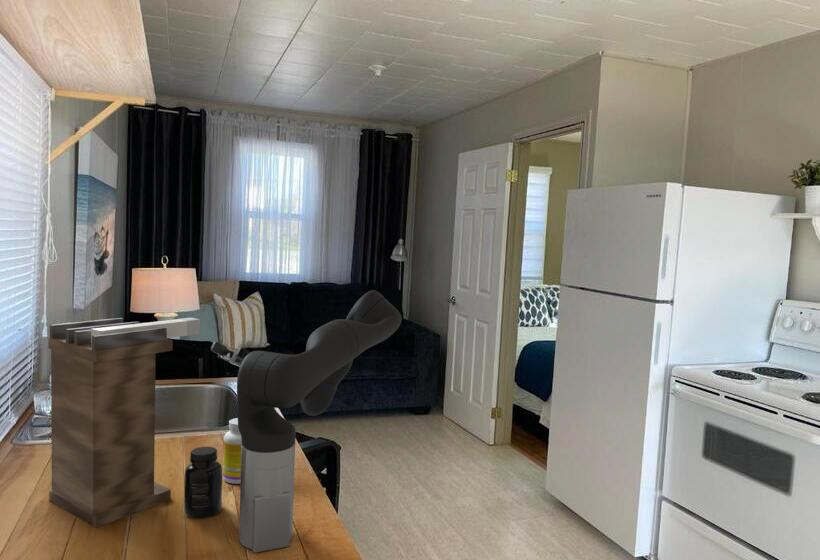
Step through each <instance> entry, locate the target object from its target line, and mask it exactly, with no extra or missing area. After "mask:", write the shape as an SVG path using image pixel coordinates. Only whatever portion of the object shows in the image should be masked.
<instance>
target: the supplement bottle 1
mask: <svg viewBox="0 0 820 560" xmlns="http://www.w3.org/2000/svg"><path fill="white" fill-rule="evenodd" d="M189 462H190V463H189V464H188V465H187V466H186V468H185V469H184V494H183V495H184V499H183V501H184V506H183V510H184V514H185V515H186V516H187V517H188V518H191V519H197V520H199V519H201V520H202V519H208V518H212V517H214V516H216V515H218V514H219V513H220V512H221V510H222V505H223V504H222V503H223V502H222V501H223V497H222V496H223V465H222V464H221V463H220V462H219V461H218V450H217V448H216V447H213V446H199V447H195V448H193V449H191V450H190V458H189Z"/></svg>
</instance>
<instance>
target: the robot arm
mask: <svg viewBox="0 0 820 560" xmlns="http://www.w3.org/2000/svg"><path fill="white" fill-rule="evenodd" d="M402 320H403V319H402V314H401V312H400V311H399V310H398V309H397V308H396V307H395V306H394V305H393V304H392V303H391V302H389V300H388V299H387V298H385V296H384V295H382V294H381V293H380V292H379V291H377V290H375V289H373V290H369V291H367V292H366V293H364V294H363V295H362V296H361V297H359V299H358V300H357V301H356V302H355V303H354V305H353V307H352V308H351V309H350V310H349V313H348V315H347V316H346V318H345V319H344V318H339V319H333V320H331V321H329V322H327V323H325V324H323V325H321V326H320V327H318V328H316V329H315V330H314V331H312V333H311V334H310V335H309V337H308V339H307V341H306V346H305V347H306V348H305V351H303V352H302V353H297V354H286V353H279V352H278V353H277V352H271V351H264V350H254V351H249V350H247V349H246V348H244V347H241V346H240V347H239V346H238V347H237V348H236V349H233V348H231V347H229V346H225V345H224V344H222V343H220V342H218V341H213V343H212V345H211V347H210V351H211V352H212V353H215V354H217V358H218V359H222V360H224V361H226V362H228V363H230V364H232V365H234V366H237V367H239V369H238V372H237V380H236V401H237V403H236V404H237V406H236V407H237V418H238V428H239V432H240V434H241V440H242V441H241V480H240V484H239V485H240V488H239V489H240V491H239V528H238V530H239V534H238V535H239V537H238V538H239V539H238V540H239V542H240V545H241V546H242V547H245V548H248V549H249V550H252V551H253V553H259V552H260V553H261V552H266V551H271V550H277V549H281V548H286V547H290V543H291V540H292V539H293V531H294V530H293V529H294V526H293V525H294V498H295V497H294V496H295V495H294V494H295V492H294V491H295V490H294V489H295V464H296V463H295V460H296V436H297V435H296V428H295V426H294V425H293V424H292V423H291V422H290V421H289V420H287V419H285V418H284V417H282V415H280V414H279V412H278V411H277V410H276V409H284V410H285V409H290V408H292V407H295V406H296V405H297V404H299V403H300V405H301V409H302V411H303V412H304V413H305V414H306V415H308V416H311V417H312V416H314V417H315V416H318V415H319V416H320V415H321V414H323V413H324V412H326V411H327V409H328V408H329V407H330V405H331V403H332V402H333V399H334V397H335V394H336V393H337V389H338V385H339V384H340V383H341V381H342V380H343V379H344V378H345V377H346V375H347V374H348V373H349V372H350V369H351V368H352V365H353V362H354V360H355V358H357V357H358V356H360V355H361V354H362V353H363V352H365V351H367V350H368V349H370V348H372V347H373V346H376V345H377V344H380V343H382V342H383V341H386V340H387V339H389V337H391V336H392V335H393V334H394V333H395V332H396V331H397V330H398V329H399V327H400V326H401V324H402Z"/></svg>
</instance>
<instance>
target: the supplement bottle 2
mask: <svg viewBox="0 0 820 560" xmlns="http://www.w3.org/2000/svg"><path fill="white" fill-rule="evenodd" d="M228 429H229V431H227V432H226V433H225V434H224V435H223V436H224V437H223V455H222V456H223V460H222V462H223V463H222V480H223V481H225V482H226V483H228V484H232V485H233V484H235V485H236V484H237V485H240V480H241V441H242V440H241V434H240V432H239V428H238V417H235V418H232V419H230V420H228Z"/></svg>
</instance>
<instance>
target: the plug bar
mask: <svg viewBox="0 0 820 560" xmlns="http://www.w3.org/2000/svg"><path fill="white" fill-rule="evenodd" d="M162 327H165V328H167V339H173V338H180V337H185V336H187V337H188V336H195V335H196V336H197V335H200V334H201V319H200V318H195V317H185V318H183V317H182V318H177V319H168V320H160V321H150V322H142V323H141V322H140V323H139V324H130V325H121V326H112V327H103V328H94V329H91V345H92V336H95V335H104V334H112V333H120V332H128V331H137V330H145V329H153V328H162Z"/></svg>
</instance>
